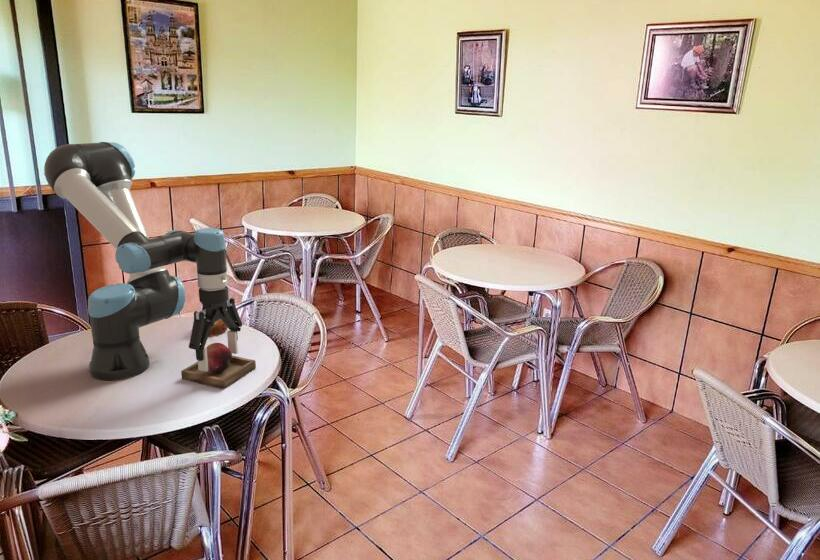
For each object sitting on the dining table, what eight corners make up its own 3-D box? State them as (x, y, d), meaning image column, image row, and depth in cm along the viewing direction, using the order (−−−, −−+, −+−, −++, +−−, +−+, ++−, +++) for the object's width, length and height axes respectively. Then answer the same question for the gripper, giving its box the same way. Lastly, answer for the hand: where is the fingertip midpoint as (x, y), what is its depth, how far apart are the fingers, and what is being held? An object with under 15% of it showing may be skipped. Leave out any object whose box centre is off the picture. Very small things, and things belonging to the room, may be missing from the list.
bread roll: (202, 336, 201) (190, 317, 198) (230, 321, 203) (218, 302, 200) (202, 348, 192) (188, 328, 189) (231, 332, 194) (218, 312, 191)
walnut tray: (181, 379, 163) (181, 370, 163) (215, 359, 176) (215, 351, 175) (224, 389, 158) (223, 380, 158) (255, 368, 171) (255, 360, 170)
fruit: (216, 363, 171) (214, 337, 169) (238, 368, 169) (237, 341, 166) (197, 373, 165) (195, 346, 162) (220, 379, 162) (218, 352, 159)
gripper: (193, 302, 148) (199, 381, 154) (252, 276, 169) (256, 347, 175) (169, 297, 150) (176, 376, 157) (230, 273, 172) (235, 343, 178)
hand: (218, 361), depth 166 cm, fingers open, 12 cm apart
